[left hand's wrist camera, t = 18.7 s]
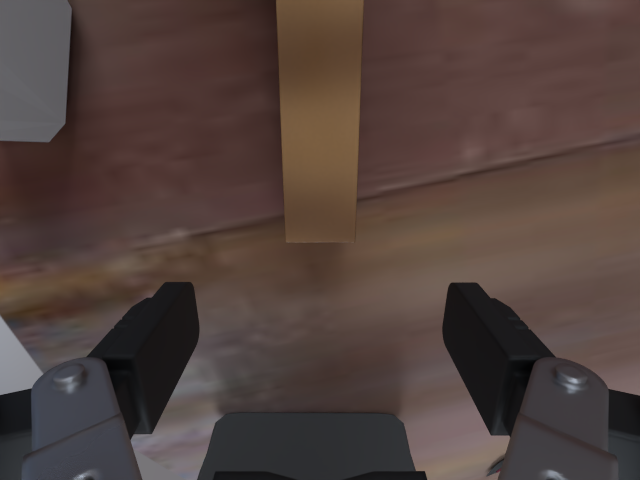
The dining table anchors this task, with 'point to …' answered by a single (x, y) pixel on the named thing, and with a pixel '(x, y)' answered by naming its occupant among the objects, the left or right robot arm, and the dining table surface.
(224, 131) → the dining table surface
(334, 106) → the bar
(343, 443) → the handheld gaming console
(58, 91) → the electronic device
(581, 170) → the dining table surface
